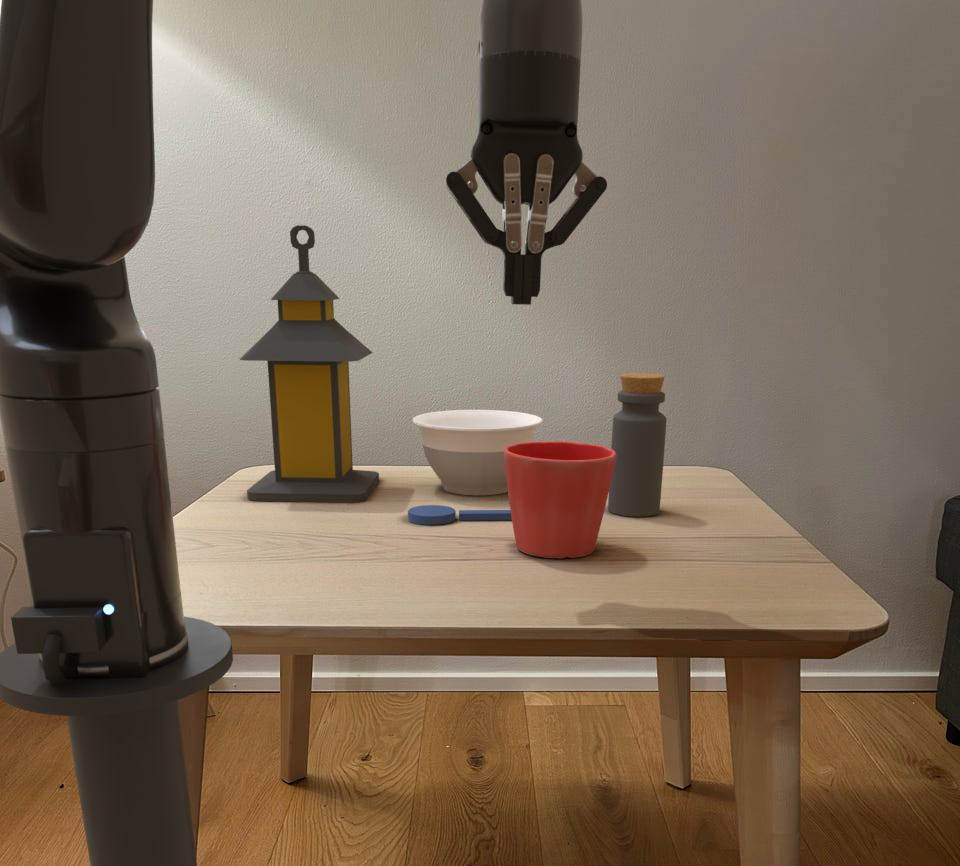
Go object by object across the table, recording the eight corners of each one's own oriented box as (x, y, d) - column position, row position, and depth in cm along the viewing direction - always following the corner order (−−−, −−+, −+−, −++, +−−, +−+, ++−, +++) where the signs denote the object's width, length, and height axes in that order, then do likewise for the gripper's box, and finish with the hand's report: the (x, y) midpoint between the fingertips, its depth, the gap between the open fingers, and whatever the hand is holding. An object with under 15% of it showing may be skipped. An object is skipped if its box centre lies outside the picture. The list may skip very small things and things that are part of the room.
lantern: (273, 476, 127) (256, 227, 116) (380, 478, 126) (372, 228, 116) (244, 500, 114) (222, 222, 103) (363, 502, 113) (353, 223, 103)
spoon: (564, 512, 110) (564, 503, 109) (571, 523, 105) (571, 514, 104) (408, 513, 108) (407, 505, 108) (407, 525, 104) (407, 516, 103)
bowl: (467, 508, 111) (467, 432, 108) (388, 485, 123) (386, 416, 119) (567, 490, 120) (570, 420, 117) (485, 470, 132) (486, 406, 129)
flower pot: (600, 533, 101) (605, 439, 97) (619, 563, 91) (625, 459, 87) (498, 534, 100) (500, 439, 97) (506, 564, 90) (508, 459, 87)
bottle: (651, 519, 107) (662, 379, 101) (600, 513, 109) (608, 376, 104) (665, 508, 112) (675, 374, 106) (616, 503, 114) (624, 371, 109)
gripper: (441, 42, 68) (439, 303, 74) (628, 49, 69) (611, 307, 75) (440, 64, 75) (438, 301, 81) (609, 70, 76) (595, 305, 82)
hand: (521, 303), depth 78 cm, fingers closed
